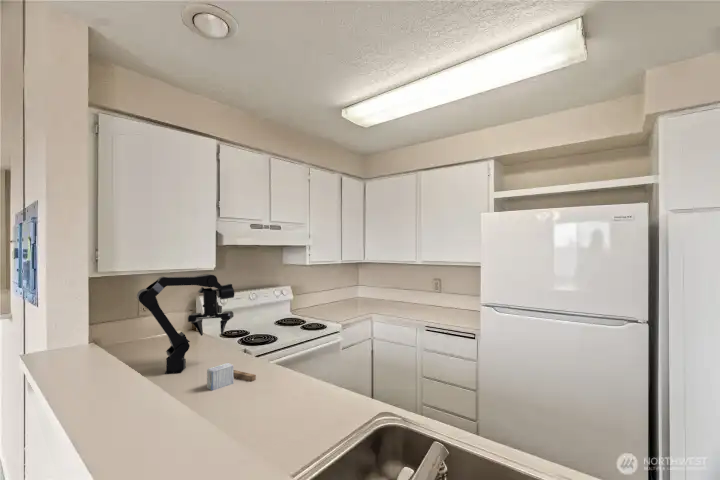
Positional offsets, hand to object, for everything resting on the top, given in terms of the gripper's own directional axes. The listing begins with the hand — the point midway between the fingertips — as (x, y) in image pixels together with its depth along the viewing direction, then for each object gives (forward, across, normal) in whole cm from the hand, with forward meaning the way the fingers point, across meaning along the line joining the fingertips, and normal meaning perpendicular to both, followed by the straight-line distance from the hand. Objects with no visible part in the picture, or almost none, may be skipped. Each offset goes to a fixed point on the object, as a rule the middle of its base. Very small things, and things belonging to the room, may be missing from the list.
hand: (212, 334), depth 153 cm
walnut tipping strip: (+13, -19, +20) cm, 30 cm away
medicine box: (+9, -16, +23) cm, 30 cm away
